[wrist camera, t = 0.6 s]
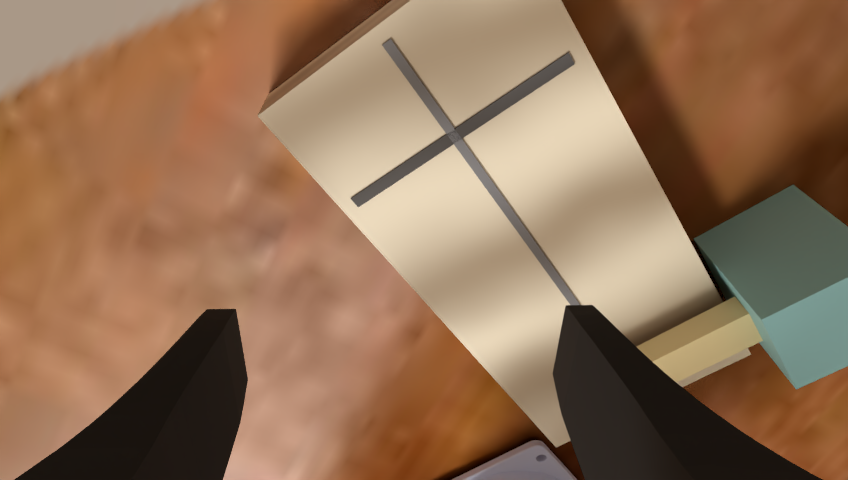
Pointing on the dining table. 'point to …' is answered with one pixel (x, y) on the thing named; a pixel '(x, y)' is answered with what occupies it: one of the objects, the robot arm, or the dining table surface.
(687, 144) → the dining table surface
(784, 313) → the teal cube mallet
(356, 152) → the board
